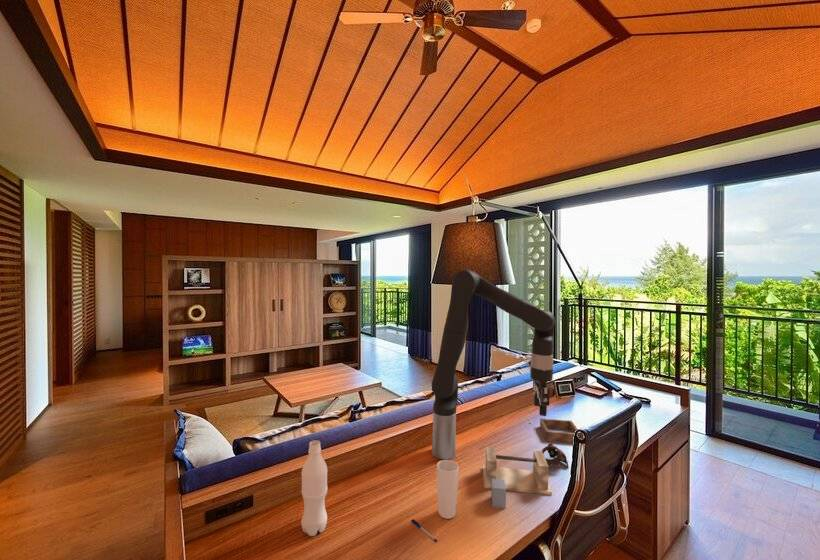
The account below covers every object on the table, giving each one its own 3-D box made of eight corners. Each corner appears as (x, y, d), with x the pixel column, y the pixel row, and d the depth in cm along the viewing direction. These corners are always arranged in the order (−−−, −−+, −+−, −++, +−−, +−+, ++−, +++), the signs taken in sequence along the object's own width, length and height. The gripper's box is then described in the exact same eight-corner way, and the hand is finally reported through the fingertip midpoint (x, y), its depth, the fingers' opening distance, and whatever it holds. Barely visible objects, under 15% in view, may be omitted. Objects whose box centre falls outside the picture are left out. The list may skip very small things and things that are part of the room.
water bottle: (329, 520, 104) (330, 436, 103) (324, 538, 96) (324, 449, 96) (304, 520, 103) (305, 436, 103) (298, 539, 96) (298, 449, 95)
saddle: (492, 507, 110) (492, 487, 110) (491, 497, 115) (491, 478, 115) (505, 508, 110) (506, 489, 110) (503, 498, 115) (504, 479, 114)
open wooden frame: (546, 440, 154) (546, 431, 154) (539, 426, 168) (539, 418, 168) (581, 443, 152) (581, 434, 152) (571, 429, 166) (571, 420, 166)
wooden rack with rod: (484, 487, 120) (484, 462, 120) (482, 468, 132) (483, 444, 132) (551, 495, 117) (552, 468, 116) (543, 474, 128) (544, 450, 128)
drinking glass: (443, 503, 112) (444, 456, 111) (462, 512, 108) (463, 464, 107) (431, 514, 107) (432, 466, 106) (450, 525, 102) (451, 474, 102)
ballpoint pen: (410, 522, 104) (410, 518, 104) (412, 520, 104) (412, 517, 104) (436, 543, 96) (436, 539, 96) (438, 541, 96) (438, 538, 96)
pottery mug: (574, 474, 130) (566, 457, 128) (549, 482, 132) (541, 465, 130) (562, 449, 141) (555, 434, 140) (540, 457, 143) (532, 442, 141)
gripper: (526, 360, 133) (525, 402, 134) (535, 370, 119) (533, 418, 120) (547, 361, 132) (545, 403, 133) (558, 372, 118) (556, 419, 119)
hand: (539, 410), depth 126 cm, fingers open, 8 cm apart
